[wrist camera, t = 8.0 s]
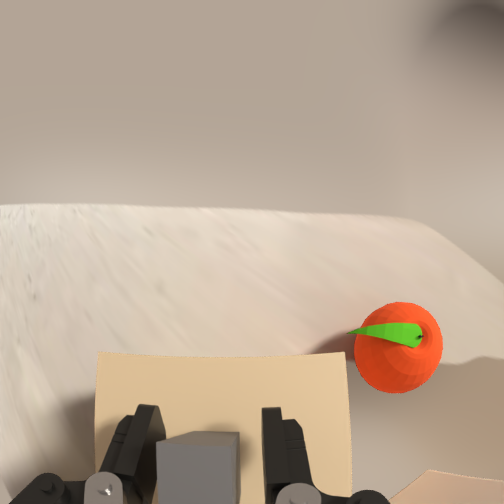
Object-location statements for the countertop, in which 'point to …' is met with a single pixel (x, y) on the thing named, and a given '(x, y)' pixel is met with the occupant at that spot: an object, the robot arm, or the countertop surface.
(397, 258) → the countertop surface
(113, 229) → the countertop surface
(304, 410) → the lid
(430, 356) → the clementine
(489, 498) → the milk
